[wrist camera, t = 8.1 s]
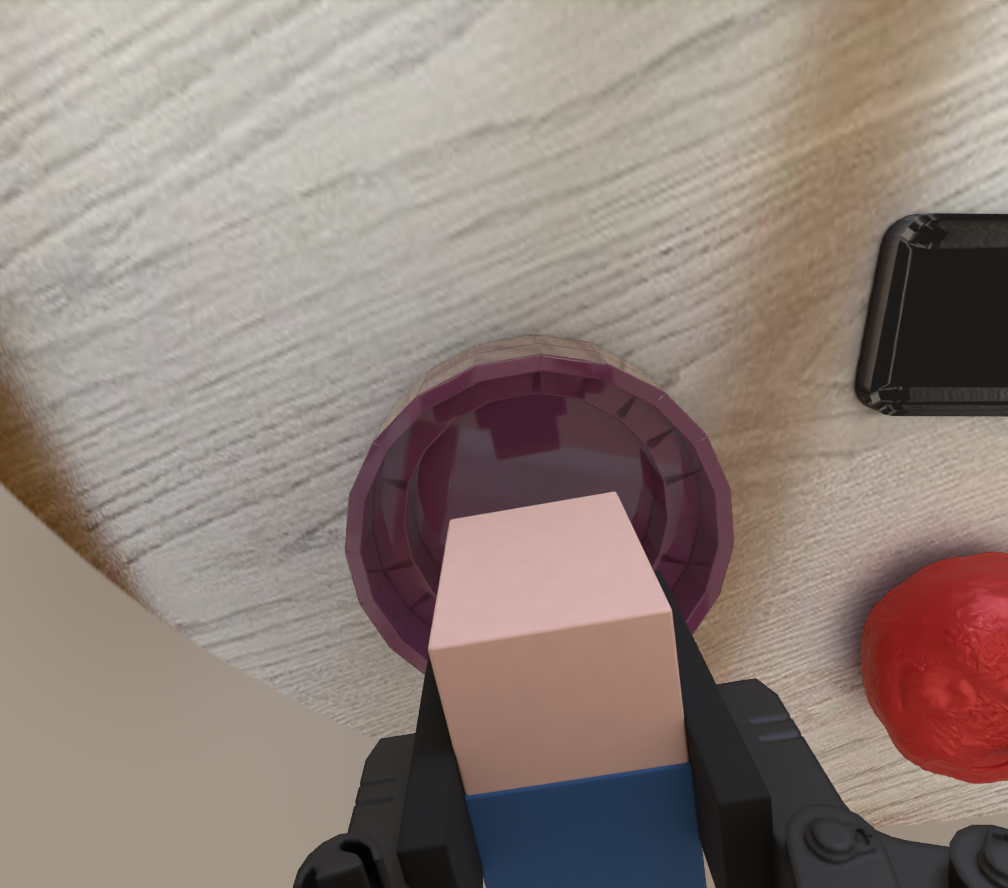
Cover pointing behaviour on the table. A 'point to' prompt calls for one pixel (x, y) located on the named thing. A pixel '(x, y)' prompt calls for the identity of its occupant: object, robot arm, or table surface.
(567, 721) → the eraser
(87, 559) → the table surface
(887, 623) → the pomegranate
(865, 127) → the table surface
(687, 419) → the bowl
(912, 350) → the phone
